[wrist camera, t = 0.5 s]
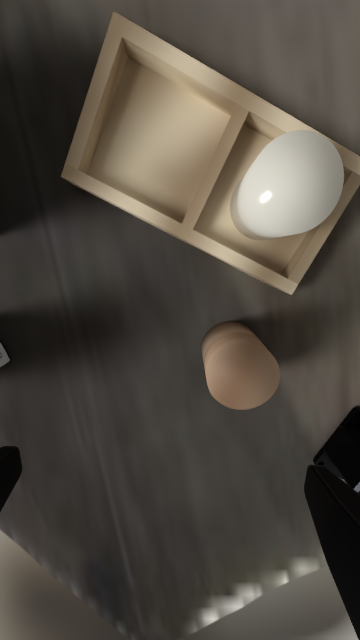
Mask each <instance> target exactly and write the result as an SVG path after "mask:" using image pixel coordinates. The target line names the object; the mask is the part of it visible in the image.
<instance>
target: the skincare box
mask: <svg viewBox="0 0 360 640" xmlns="http://www.w3.org/2000/svg"><path fill="white" fill-rule="evenodd" d="M9 360H10V359H9V357H8V355H7V353H6V351H5V349H4V348H3V346H2V344H1V343H0V367H1V366H3V365H5V364H6V363H8V362H9Z"/></svg>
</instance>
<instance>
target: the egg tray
mask: <svg viewBox="0 0 360 640" xmlns="http://www.w3.org/2000/svg"><path fill="white" fill-rule="evenodd" d="M297 130H307V131H313V132H316V133H318V134H320V135H323V134H321V133H319V132H318V131H316V130H314V129H313V128H311V127H309V126H307V125H306V124H304V123H302V122H301V121H299V120H297V119H296V118H294V117H292V116H291V115H289V114H287V113H285V112H284V111H282V110H280V109H279V108H277V107H275V106H274V105H272V104H270V103H269V102H267V101H265V100H263V99H262V98H260V97H258V96H257V95H255V94H253V93H252V92H250V91H248V90H246V89H245V88H243V87H241V86H240V85H238V84H236V83H235V82H233V81H231V80H230V79H228V78H226V77H224V76H223V75H221V74H219V73H218V72H216V71H214V70H213V69H211V68H209V67H207V66H206V65H204V64H202V63H201V62H199V61H197V60H196V59H194V58H192V57H191V56H189V55H187V54H185V53H184V52H182V51H180V50H179V49H177V48H175V47H174V46H172V45H170V44H168V43H167V42H165V41H163V40H162V39H160V38H158V37H157V36H155V35H153V34H152V33H150V32H148V31H146V30H145V29H143V28H141V27H140V26H138V25H136V24H135V23H133V22H131V21H129V20H128V19H126V18H124V17H123V16H121V15H119V14H118V13H116V12H114V11H113V15H112V18H111V21H110V24H109V27H108V30H107V33H106V37H105V40H104V43H103V46H102V49H101V52H100V55H99V59H98V62H97V65H96V68H95V71H94V74H93V77H92V81H91V84H90V87H89V90H88V93H87V96H86V99H85V103H84V106H83V109H82V112H81V115H80V118H79V121H78V125H77V128H76V131H75V134H74V137H73V140H72V143H71V147H70V150H69V153H68V156H67V159H66V162H65V165H64V168H63V172H62V175H61V177H62V178H64V179H65V180H67V181H69V182H70V183H72V184H73V185H75V186H77V187H79V188H81V189H83V190H85V191H87V192H89V193H91V194H93V195H94V196H96V197H98V198H100V199H102V200H104V201H106V202H108V203H110V204H112V205H114V206H116V207H118V208H120V209H122V210H124V211H126V212H128V213H130V214H132V215H134V216H135V217H137V218H139V219H141V220H143V221H145V222H147V223H149V224H151V225H153V226H155V227H157V228H159V229H161V230H163V231H165V232H167V233H169V234H171V235H173V236H174V237H176V238H178V239H180V240H182V241H184V242H186V243H188V244H190V245H192V246H194V247H196V248H198V249H200V250H202V251H204V252H206V253H208V254H210V255H212V256H214V257H215V258H217V259H219V260H221V261H223V262H225V263H227V264H229V265H231V266H233V267H235V268H237V269H239V270H241V271H243V272H245V273H247V274H249V275H251V276H253V277H254V278H256V279H258V280H260V281H262V282H264V283H266V284H268V285H270V286H272V287H274V288H276V289H278V290H280V291H282V292H285V293H288V294H290V295H292V294H293V292H294V291H295V289H296V287H297V286H298V284H299V282H300V281H301V279H302V278H303V276H304V274H305V273H306V271H307V270H308V268H309V266H310V265H311V263H312V261H313V260H314V258H315V257H316V255H317V253H318V252H319V250H320V248H321V247H322V245H323V244H324V242H325V240H326V239H327V237H328V236H329V234H330V232H331V231H332V229H333V227H334V226H335V224H336V223H337V221H338V219H339V218H340V216H341V214H342V213H343V211H344V210H345V208H346V206H347V205H348V203H349V202H350V200H351V198H352V197H353V195H354V193H355V192H356V190H357V189H358V187H359V185H360V156H358V155H357V154H355V153H353V152H352V151H350V150H348V149H346V148H345V147H343V146H341V145H340V144H338V143H336V142H335V141H333V140H331V139H330V138H328V137H326V136H324V135H323V136H324V137H325V138H327V139H328V140H329V141H330V142H331V143H332V144H333V145H334V146H335V148H336V149H337V151H338V153H339V154H340V157H341V160H342V163H343V169H344V183H343V189H342V192H341V196H340V198H339V201H338V203H337V204H336V206H335V208H334V209H333V211H332V212H331V214H330V215H329V216H328V217H327V218H326V219H325V220H324V221H323V222H322V223H320V224H319V225H318V226H316V227H315V228H313V229H311V230H309V231H306V232H303V233H300V234H295V235H290V236H284V237H279V238H274V239H269V240H263V241H258V240H252V239H249V238H247V237H245V236H244V235H242V234H241V233H240V232H239V231H238V230H237V229H236V227H235V226H234V224H233V221H232V219H231V214H230V202H231V197H232V194H233V192H234V190H235V188H236V186H237V185H238V183H239V182H240V180H241V179H242V178H243V176H244V175H245V173H246V172H247V171H248V169H249V168H250V166H251V165H252V164H253V162H254V161H255V159H256V158H257V157H258V155H259V154H260V153H261V151H262V150H263V149H264V148H265V147H266V146H267V145H268V144H269V143H270V142H271V141H272V140H274V139H275V138H277V137H279V136H281V135H283V134H285V133H288V132H291V131H297Z"/></svg>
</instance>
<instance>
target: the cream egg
mask: <svg viewBox="0 0 360 640" xmlns="http://www.w3.org/2000/svg"><path fill="white" fill-rule="evenodd" d="M343 183H344V169H343V163H342V160H341V157H340V154H339V153H338V151H337V149H336V148H335V146H334V145H333V144H332V143H331V142H330V141H329V140H328V139H327V138H325V137H324V136H323V135H320V134H318V133H316V132H313V131H307V130H297V131H291V132H288V133H285V134H283V135H281V136H279V137H277V138H275V139H274V140H272V141H271V142H270V143H269V144H268V145H267V146H266V147H265V148H264V149H263V150H262V151H261V153H260V154H259V155H258V157H257V158H256V159H255V161H254V162H253V164H252V165H251V166H250V168H249V169H248V171H247V172H246V173H245V175H244V176H243V178H242V179H241V180H240V182H239V183H238V185H237V186H236V188H235V190H234V192H233V194H232V197H231V202H230V214H231V219H232V221H233V224H234V226H235V227H236V229H237V230H238V231H239V232H240V233H241V234H242V235H244V236H245V237H247V238H249V239H252V240H258V241H263V240H269V239H274V238H279V237H284V236H290V235H295V234H300V233H303V232H306V231H309V230H311V229H313V228H315V227H316V226H318V225H319V224H320V223H322V222H323V221H324V220H325V219H326V218H327V217H328V216H329V215H330V214H331V212H332V211H333V209H334V208H335V206H336V204H337V203H338V201H339V198H340V196H341V192H342V189H343Z"/></svg>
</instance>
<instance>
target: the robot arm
mask: <svg viewBox="0 0 360 640" xmlns="http://www.w3.org/2000/svg"><path fill="white" fill-rule="evenodd" d="M358 413H359V414H358ZM357 414H358V415H357ZM313 462H314V464H315V465H309V466H308V468H307V473H306V479H305V484H304V492H305V496H306V500H307V503H308V506H309V509H310V512H311V515H312V518H313V521H314V525H315V528H316V531H317V534H318V537H319V540H320V543H321V546H322V550H323V552H324V555H325V558H326V561H327V564H328V566H329V569H330V571H331V574H332V576H333V579H334V581H335V583H336V586H337V588H338V591H339V593H340V596H341V598H342V600H343V603H344V605H345V608H346V610H347V613H348V615H349V617H350V620H351V622H352V625H353V627H354V629H355V632H356V634H357V637H358V639H359V640H360V408H359V407H357V408H354V409H352V410H351V412H350V413H349V414H348V415H347V417H346V418H345V419H344V420H343V422H342V423H341V424H340V426H339V427H338V428H337V429H336V431H335V432H334V433H333V434H332V436H331V437H330V438H329V440H328V441H327V442H326V443H325V445H324V446H323V447H322V448H321V450H320V451H319V452H318V454H317V455H316V456H315V457H314V459H313ZM21 472H22V463H21V457H20V451H19V448H18V447H16V446H3V447H1V448H0V511H1V510H2V508H3V506H4V504H5V502H6V501H7V499H8V497H9V495H10V493H11V492H12V490H13V488H14V486H15V484H16V483H17V481H18V479H19V477H20V475H21ZM339 477H340V478H342V479H344V480H345V482H346V483H347V484H348V485H347V484H346V483H345V482H344V481H342V480H341V479H340V478H339Z"/></svg>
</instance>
